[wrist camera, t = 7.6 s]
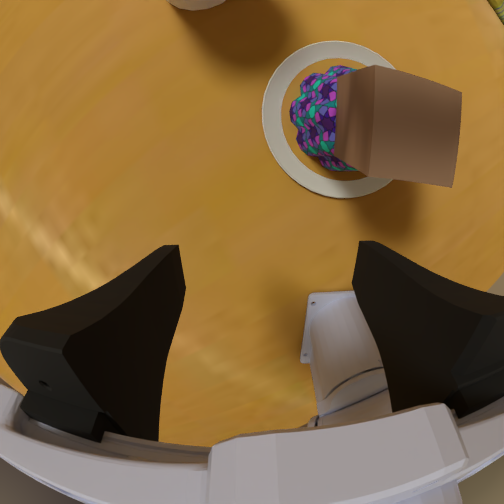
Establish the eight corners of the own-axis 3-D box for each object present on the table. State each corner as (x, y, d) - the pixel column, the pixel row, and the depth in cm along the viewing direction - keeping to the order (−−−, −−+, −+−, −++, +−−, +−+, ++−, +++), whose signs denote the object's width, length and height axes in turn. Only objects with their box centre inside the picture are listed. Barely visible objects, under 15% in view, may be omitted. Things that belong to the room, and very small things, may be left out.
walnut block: (402, 163, 14) (452, 187, 10) (333, 155, 14) (368, 176, 10) (408, 91, 12) (461, 92, 8) (337, 77, 12) (374, 64, 8)
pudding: (434, 114, 17) (475, 121, 12) (355, 223, 22) (380, 254, 17) (320, 14, 14) (341, -11, 9) (228, 137, 19) (221, 146, 14)
